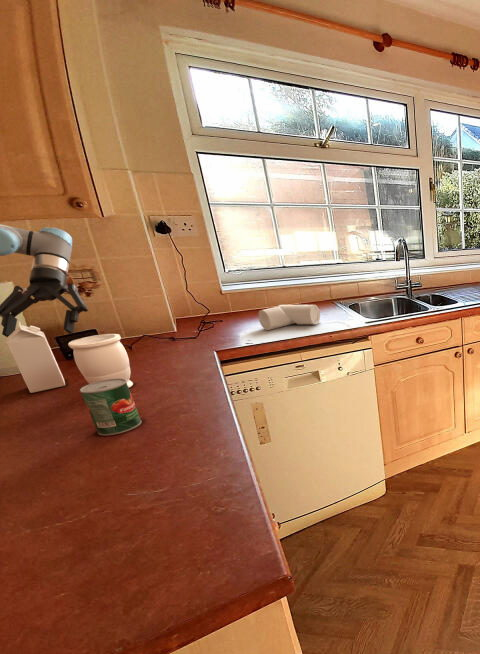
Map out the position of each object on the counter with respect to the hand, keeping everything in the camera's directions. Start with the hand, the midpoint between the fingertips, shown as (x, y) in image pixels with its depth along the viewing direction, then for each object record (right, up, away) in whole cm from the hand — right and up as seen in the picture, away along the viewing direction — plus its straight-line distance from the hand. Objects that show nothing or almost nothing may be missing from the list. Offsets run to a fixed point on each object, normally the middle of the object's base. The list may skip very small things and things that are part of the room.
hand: (38, 334), depth 122 cm
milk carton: (+2, -15, +1) cm, 16 cm away
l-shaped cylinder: (+43, +8, +59) cm, 74 cm away
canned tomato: (+44, -24, -22) cm, 55 cm away
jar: (+23, -16, -1) cm, 28 cm away
